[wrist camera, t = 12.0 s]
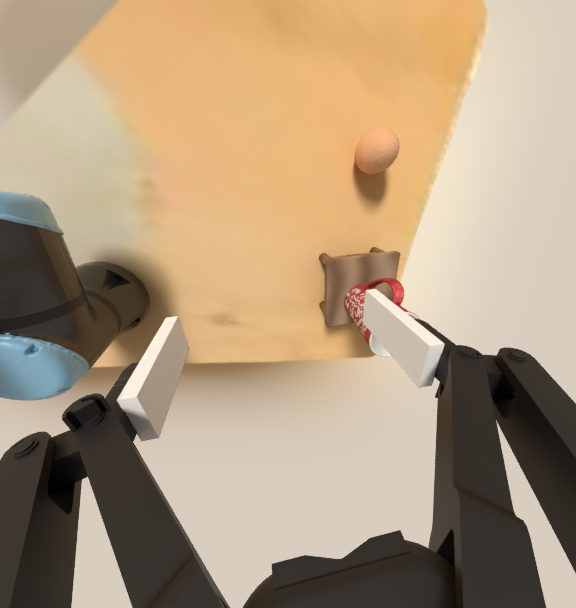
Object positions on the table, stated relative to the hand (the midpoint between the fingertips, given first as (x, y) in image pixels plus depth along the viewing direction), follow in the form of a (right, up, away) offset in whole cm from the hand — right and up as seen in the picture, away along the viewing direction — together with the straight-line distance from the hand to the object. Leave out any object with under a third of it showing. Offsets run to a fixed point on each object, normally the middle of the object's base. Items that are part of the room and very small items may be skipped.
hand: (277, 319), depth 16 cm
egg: (+15, +29, +27) cm, 43 cm away
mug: (+16, +4, +32) cm, 36 cm away
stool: (+15, +7, +39) cm, 42 cm away
